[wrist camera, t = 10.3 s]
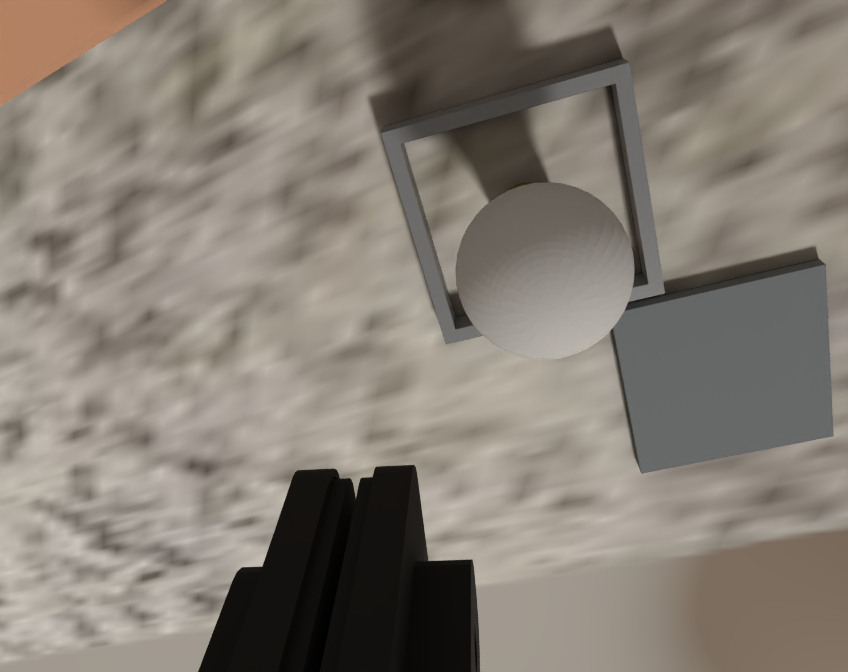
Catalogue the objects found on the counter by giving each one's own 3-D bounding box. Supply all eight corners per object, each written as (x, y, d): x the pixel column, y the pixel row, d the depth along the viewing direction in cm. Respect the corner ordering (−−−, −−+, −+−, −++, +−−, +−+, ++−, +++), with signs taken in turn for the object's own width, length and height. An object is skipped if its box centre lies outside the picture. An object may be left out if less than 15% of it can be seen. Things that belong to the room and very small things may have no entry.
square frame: (623, 58, 28) (629, 62, 27) (658, 282, 33) (664, 293, 31) (383, 126, 30) (380, 133, 29) (446, 332, 34) (445, 344, 33)
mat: (819, 259, 32) (825, 264, 31) (827, 428, 36) (833, 436, 35) (608, 308, 33) (610, 314, 33) (638, 465, 37) (641, 473, 37)
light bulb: (594, 127, 30) (652, 203, 21) (600, 264, 32) (653, 383, 23) (447, 147, 30) (443, 229, 21) (465, 280, 33) (467, 402, 24)
